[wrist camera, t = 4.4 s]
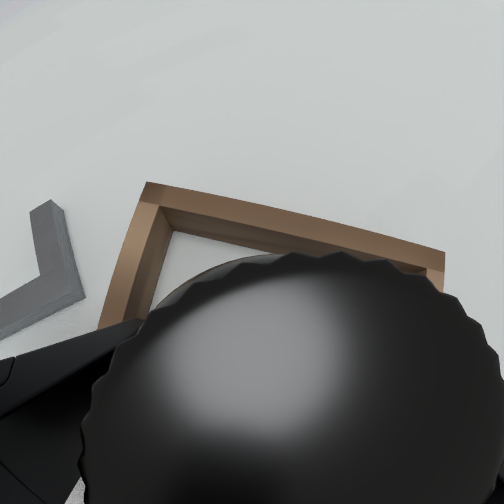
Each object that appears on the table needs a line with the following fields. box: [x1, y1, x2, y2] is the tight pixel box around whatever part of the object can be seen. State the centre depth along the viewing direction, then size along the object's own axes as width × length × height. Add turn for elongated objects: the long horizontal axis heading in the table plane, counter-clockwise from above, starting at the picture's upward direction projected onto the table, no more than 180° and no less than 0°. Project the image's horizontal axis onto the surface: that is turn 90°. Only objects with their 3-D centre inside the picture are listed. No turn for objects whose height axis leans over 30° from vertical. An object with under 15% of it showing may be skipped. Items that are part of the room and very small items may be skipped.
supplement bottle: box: [77, 250, 504, 504], centre depth 8 cm, size 7×7×12 cm
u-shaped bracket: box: [97, 182, 445, 330], centre depth 13 cm, size 12×14×3 cm
